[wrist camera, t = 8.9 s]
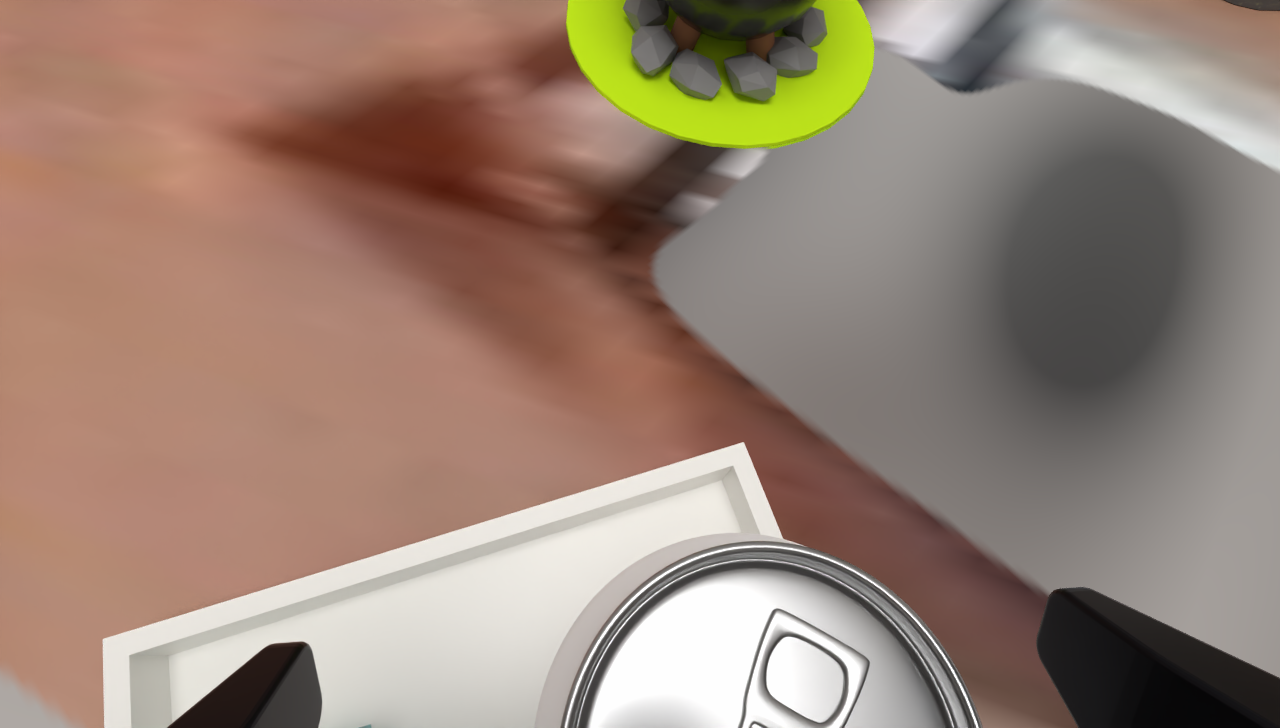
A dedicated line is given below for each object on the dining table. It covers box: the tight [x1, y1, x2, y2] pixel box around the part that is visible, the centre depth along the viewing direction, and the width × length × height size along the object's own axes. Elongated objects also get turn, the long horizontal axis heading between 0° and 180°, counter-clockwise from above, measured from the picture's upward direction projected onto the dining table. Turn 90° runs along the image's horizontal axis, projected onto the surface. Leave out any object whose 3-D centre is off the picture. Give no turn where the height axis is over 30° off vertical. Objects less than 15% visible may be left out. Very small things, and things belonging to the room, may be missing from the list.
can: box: [534, 533, 983, 728], centre depth 14 cm, size 6×6×12 cm
